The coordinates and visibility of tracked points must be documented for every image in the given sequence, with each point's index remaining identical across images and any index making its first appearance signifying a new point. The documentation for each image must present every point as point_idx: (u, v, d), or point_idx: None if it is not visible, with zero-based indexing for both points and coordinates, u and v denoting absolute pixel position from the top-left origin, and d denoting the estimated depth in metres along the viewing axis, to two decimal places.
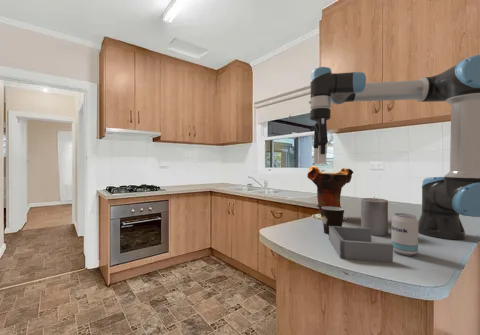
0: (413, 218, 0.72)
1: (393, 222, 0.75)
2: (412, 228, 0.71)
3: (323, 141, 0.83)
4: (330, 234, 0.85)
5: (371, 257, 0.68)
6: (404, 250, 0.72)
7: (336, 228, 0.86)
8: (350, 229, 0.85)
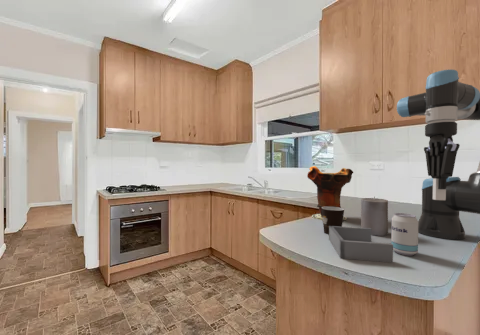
0: (413, 218, 0.72)
1: (393, 222, 0.75)
2: (412, 228, 0.71)
3: (446, 176, 0.70)
4: (330, 234, 0.85)
5: (371, 257, 0.68)
6: (404, 250, 0.72)
7: (336, 228, 0.86)
8: (350, 229, 0.85)
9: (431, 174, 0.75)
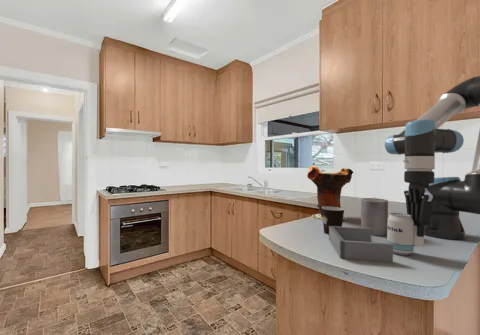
0: (408, 218, 0.72)
1: (389, 222, 0.75)
2: (408, 228, 0.72)
3: (423, 224, 0.71)
4: (330, 234, 0.85)
5: (371, 257, 0.68)
6: (400, 250, 0.72)
7: (336, 228, 0.86)
8: (350, 229, 0.85)
9: None
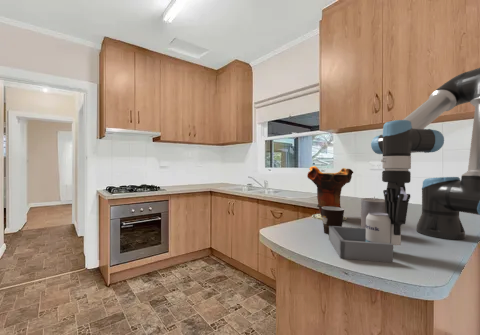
0: (385, 217, 0.73)
1: (366, 220, 0.77)
2: (384, 226, 0.73)
3: (399, 223, 0.72)
4: (330, 234, 0.85)
5: (371, 257, 0.68)
6: None
7: (336, 228, 0.86)
8: (350, 229, 0.85)
9: None
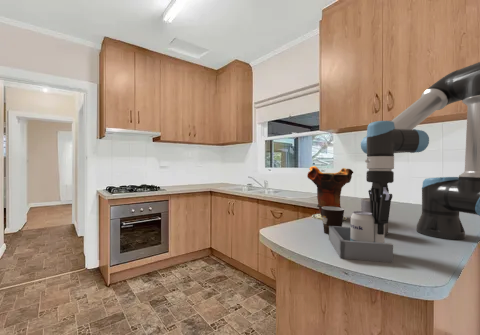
0: (368, 216, 0.74)
1: (351, 220, 0.78)
2: (367, 226, 0.74)
3: (382, 223, 0.73)
4: (330, 234, 0.85)
5: (371, 257, 0.68)
6: None
7: (336, 228, 0.86)
8: (350, 229, 0.85)
9: None
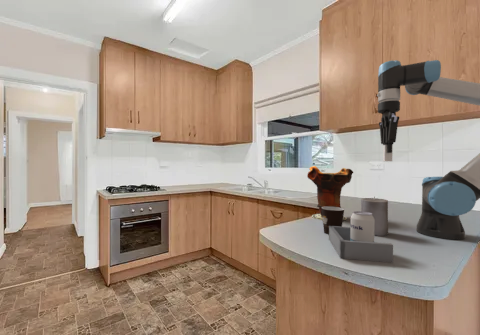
0: (368, 216, 0.74)
1: (351, 220, 0.78)
2: (367, 226, 0.74)
3: (391, 141, 0.91)
4: (330, 234, 0.85)
5: (371, 257, 0.68)
6: None
7: (336, 228, 0.86)
8: None
9: (382, 142, 0.97)
